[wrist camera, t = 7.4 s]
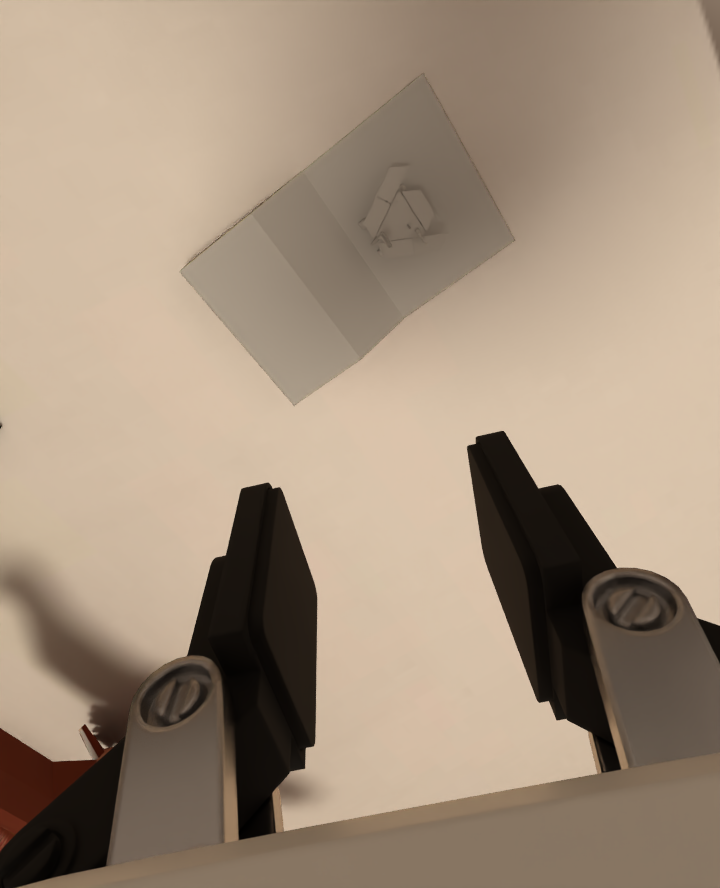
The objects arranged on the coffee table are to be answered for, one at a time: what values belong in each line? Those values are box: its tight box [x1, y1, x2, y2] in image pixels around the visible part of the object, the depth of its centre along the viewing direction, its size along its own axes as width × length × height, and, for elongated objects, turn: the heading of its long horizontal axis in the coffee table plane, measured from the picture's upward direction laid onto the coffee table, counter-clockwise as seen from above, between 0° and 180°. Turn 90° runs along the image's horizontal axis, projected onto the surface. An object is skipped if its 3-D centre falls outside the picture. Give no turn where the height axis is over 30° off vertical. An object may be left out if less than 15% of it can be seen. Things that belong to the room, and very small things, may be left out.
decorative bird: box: [0, 725, 113, 835], centre depth 31 cm, size 28×18×15 cm, turn 34°
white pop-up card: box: [180, 73, 515, 406], centre depth 24 cm, size 7×12×2 cm, turn 125°
